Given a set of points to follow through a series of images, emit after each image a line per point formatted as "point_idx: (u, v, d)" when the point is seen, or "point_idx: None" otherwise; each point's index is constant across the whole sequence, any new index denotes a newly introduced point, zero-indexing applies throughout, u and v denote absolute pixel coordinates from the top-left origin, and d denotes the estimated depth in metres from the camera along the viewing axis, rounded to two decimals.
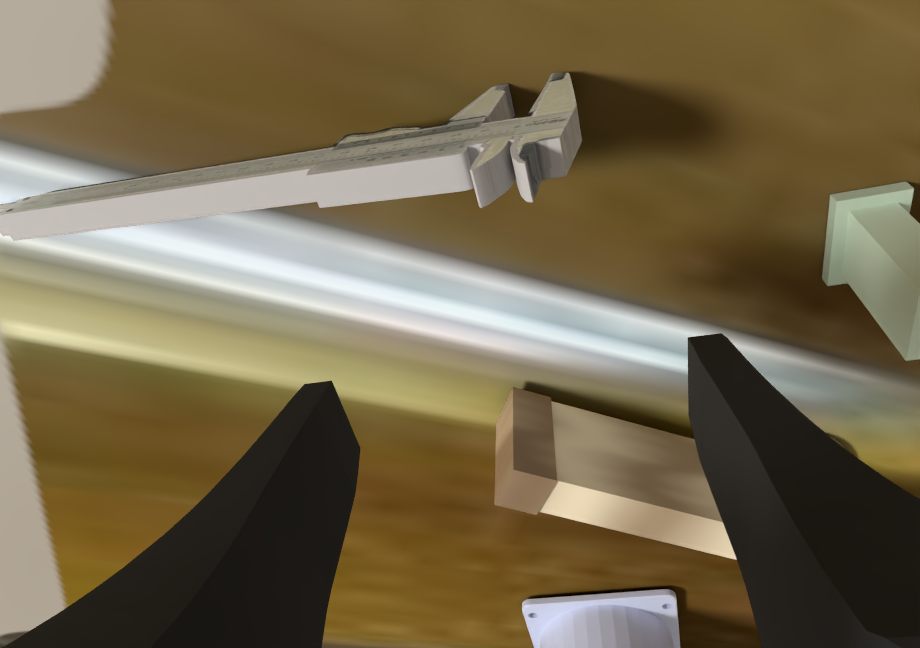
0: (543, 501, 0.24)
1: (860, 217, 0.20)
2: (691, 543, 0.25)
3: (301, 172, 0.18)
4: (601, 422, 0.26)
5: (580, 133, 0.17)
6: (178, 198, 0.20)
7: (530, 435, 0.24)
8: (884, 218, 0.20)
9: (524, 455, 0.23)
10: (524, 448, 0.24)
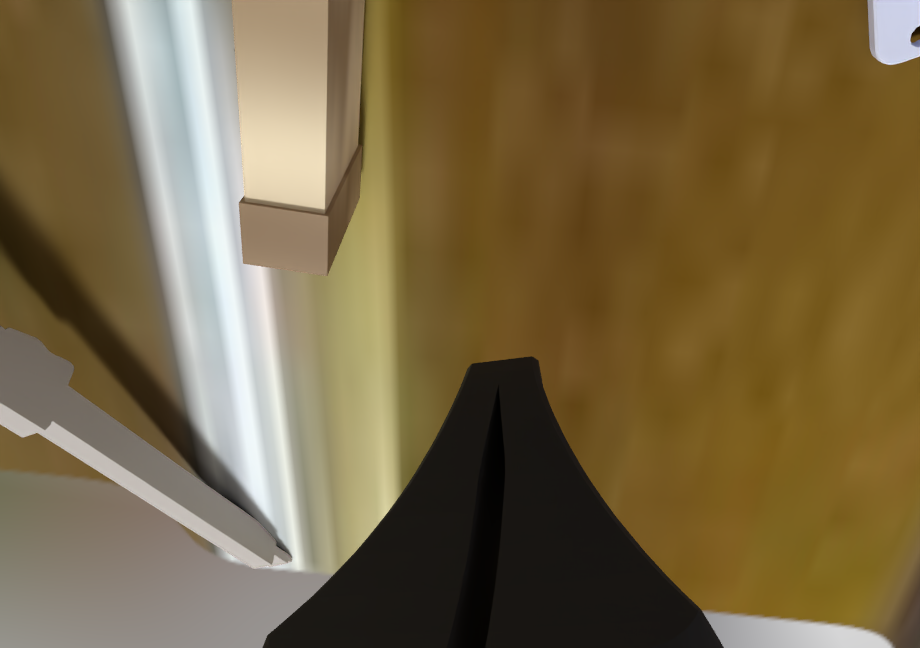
0: (298, 209, 0.15)
1: None
2: None
3: (38, 432, 0.22)
4: None
5: None
6: (139, 491, 0.25)
7: None
8: None
9: None
10: None
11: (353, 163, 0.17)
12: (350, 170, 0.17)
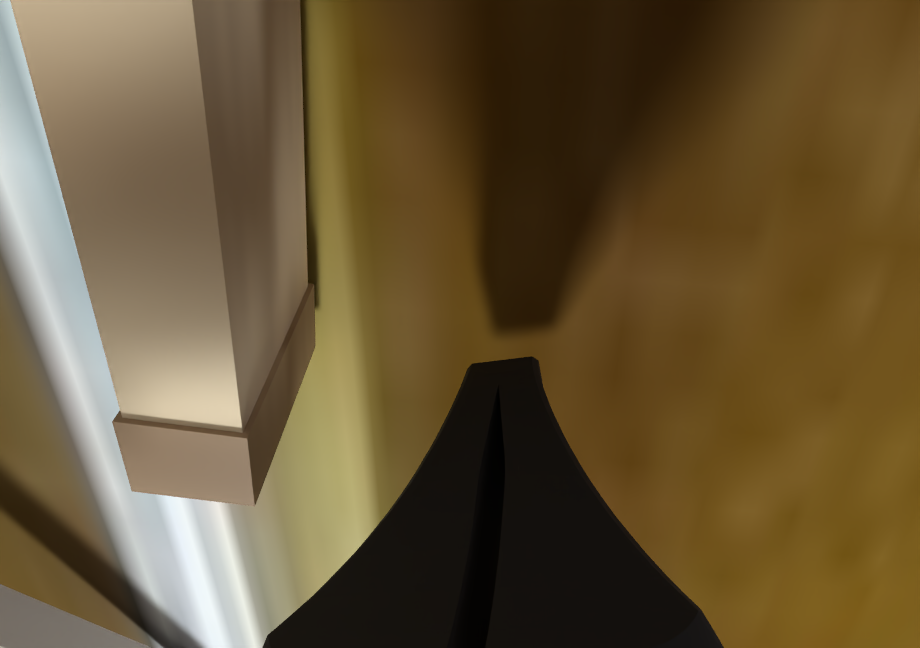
0: (201, 428, 0.10)
1: None
2: None
3: None
4: None
5: None
6: None
7: None
8: None
9: None
10: None
11: (298, 320, 0.12)
12: (292, 334, 0.12)
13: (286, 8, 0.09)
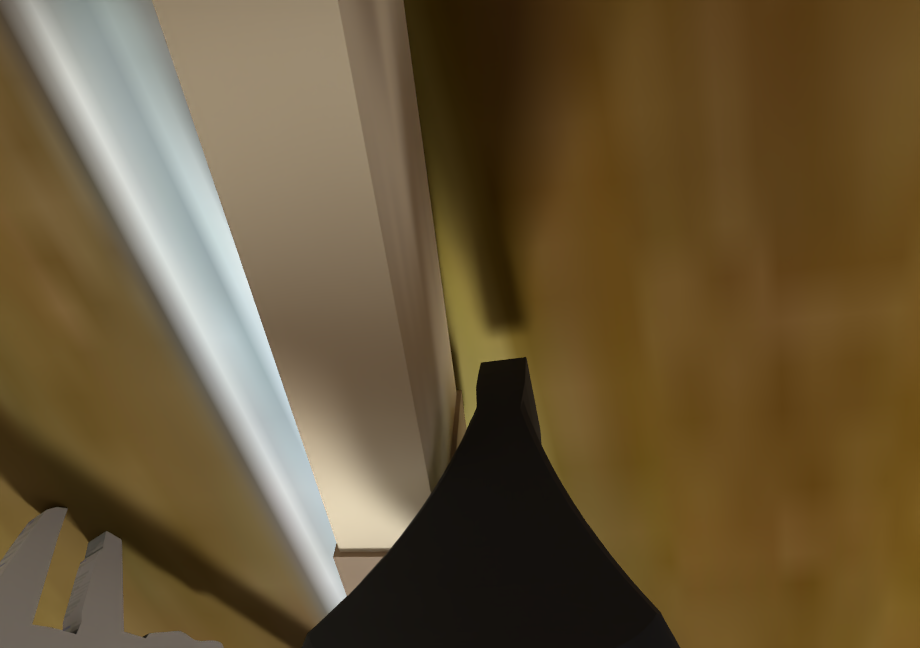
0: None
1: None
2: (364, 251, 0.08)
3: None
4: None
5: None
6: None
7: None
8: None
9: None
10: None
11: (457, 430, 0.14)
12: (456, 445, 0.13)
13: (421, 189, 0.11)
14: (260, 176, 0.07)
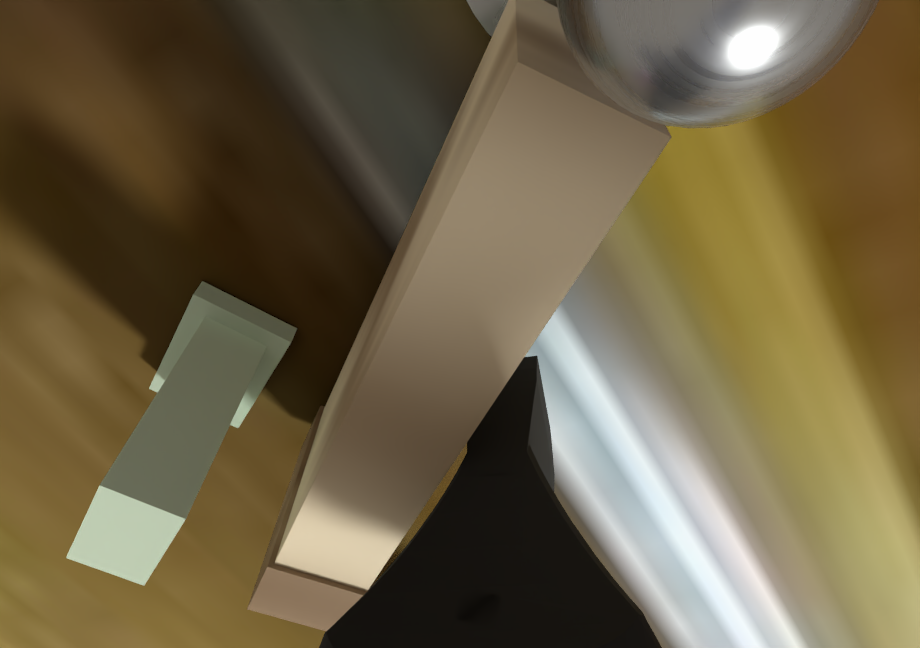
0: (336, 583, 0.12)
1: None
2: (493, 369, 0.09)
3: None
4: (348, 359, 0.14)
5: None
6: None
7: None
8: None
9: (264, 562, 0.13)
10: (269, 547, 0.14)
11: None
12: None
13: None
14: (458, 285, 0.08)
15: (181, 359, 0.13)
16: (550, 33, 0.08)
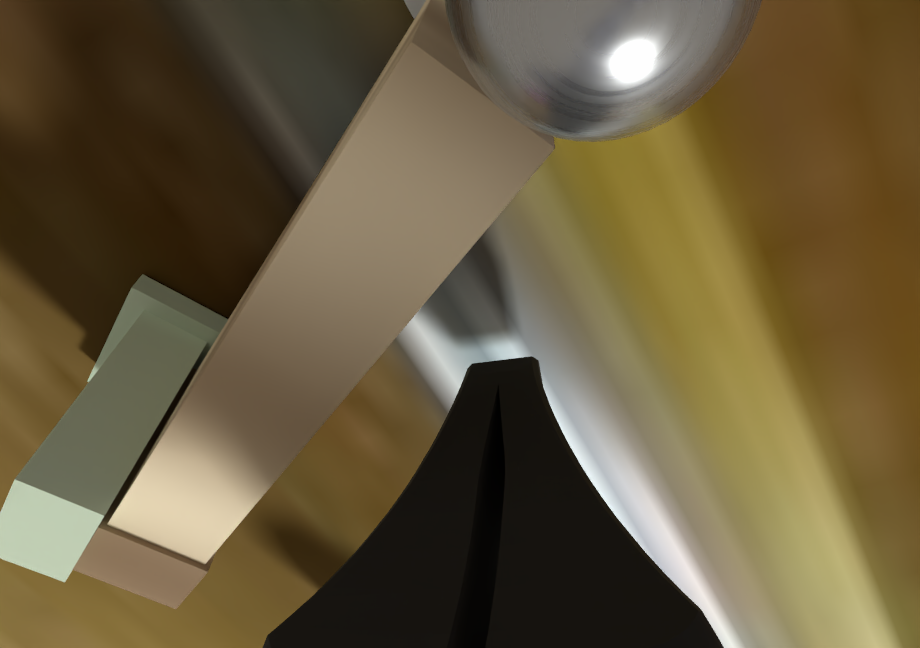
0: (172, 552, 0.12)
1: None
2: (357, 353, 0.09)
3: None
4: (226, 323, 0.13)
5: None
6: None
7: None
8: None
9: None
10: None
11: None
12: None
13: None
14: (329, 261, 0.08)
15: (115, 352, 0.13)
16: None
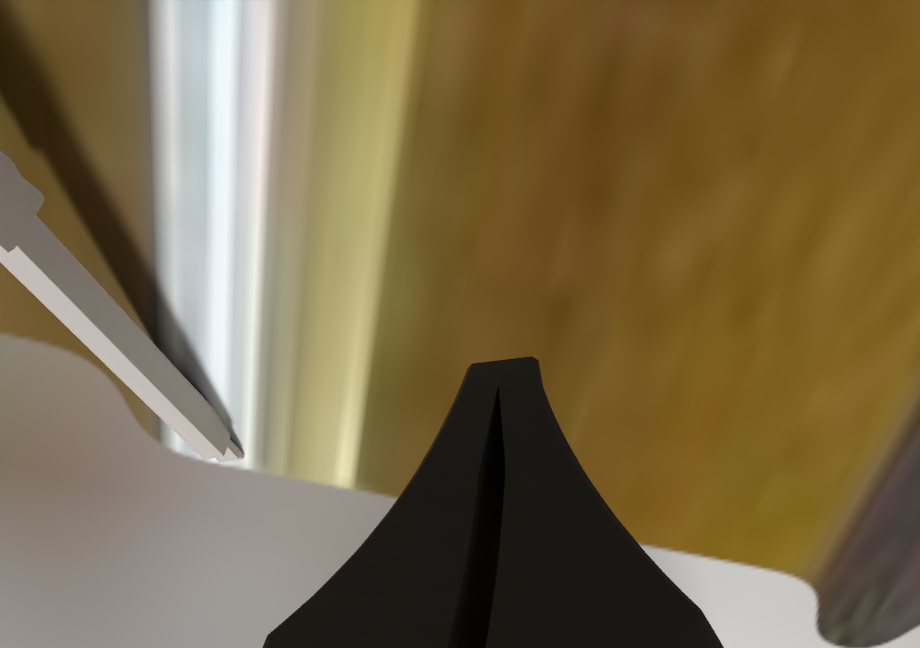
0: None
1: None
2: None
3: None
4: None
5: None
6: (97, 348, 0.23)
7: None
8: None
9: None
10: None
11: None
12: None
13: None
14: None
15: None
16: None
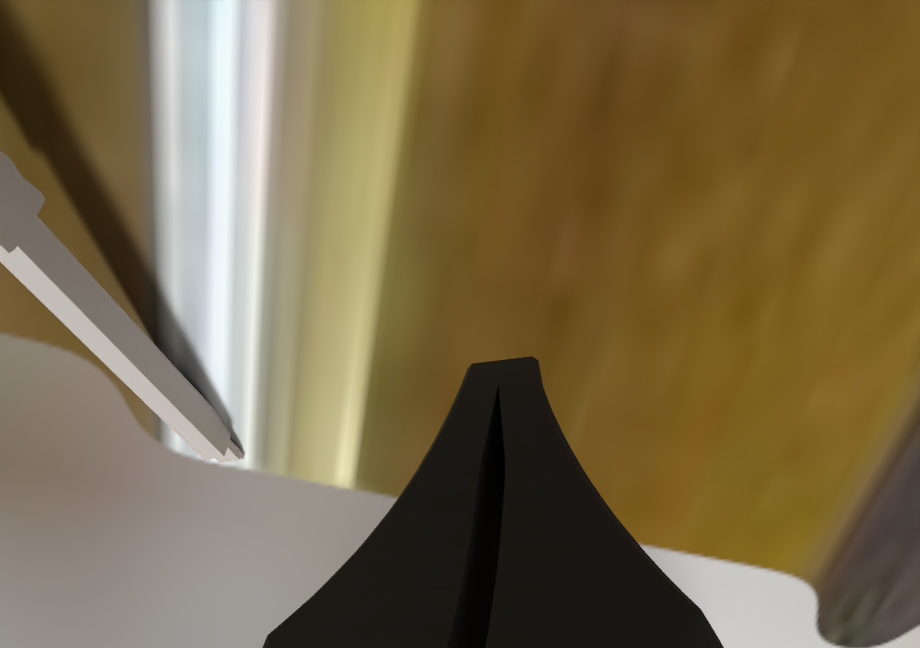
0: None
1: None
2: None
3: None
4: None
5: None
6: (98, 348, 0.23)
7: None
8: None
9: None
10: None
11: None
12: None
13: None
14: None
15: None
16: None
